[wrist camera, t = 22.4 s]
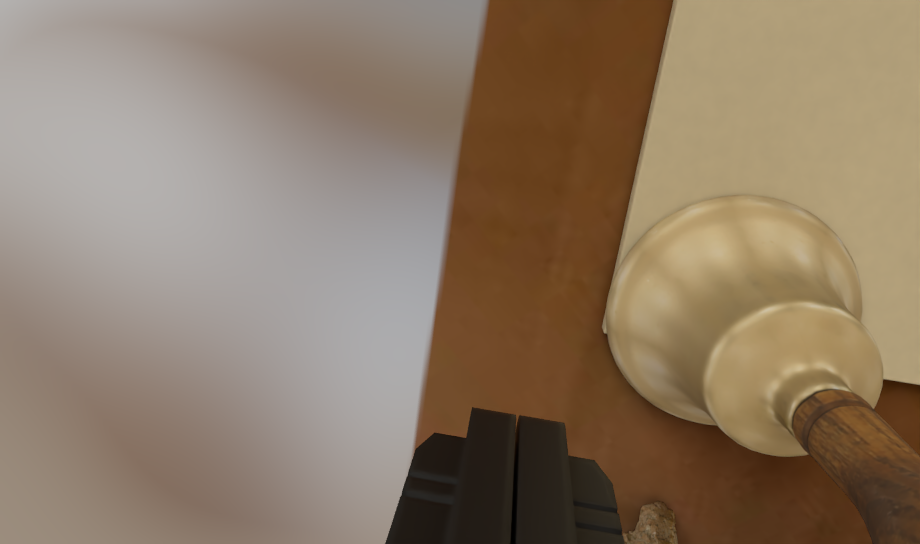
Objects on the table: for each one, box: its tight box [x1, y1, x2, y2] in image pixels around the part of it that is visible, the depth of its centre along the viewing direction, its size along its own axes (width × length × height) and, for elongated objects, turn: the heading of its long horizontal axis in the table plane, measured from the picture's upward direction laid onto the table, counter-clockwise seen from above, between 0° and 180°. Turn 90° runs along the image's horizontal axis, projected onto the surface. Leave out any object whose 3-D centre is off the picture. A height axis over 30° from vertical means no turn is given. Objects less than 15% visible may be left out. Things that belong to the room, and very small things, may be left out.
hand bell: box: [606, 195, 920, 544], centre depth 13 cm, size 8×8×16 cm
